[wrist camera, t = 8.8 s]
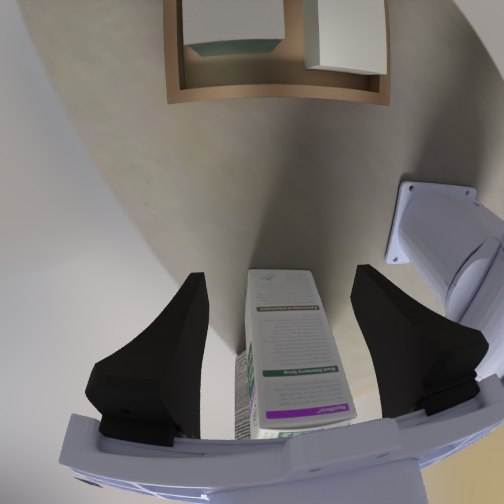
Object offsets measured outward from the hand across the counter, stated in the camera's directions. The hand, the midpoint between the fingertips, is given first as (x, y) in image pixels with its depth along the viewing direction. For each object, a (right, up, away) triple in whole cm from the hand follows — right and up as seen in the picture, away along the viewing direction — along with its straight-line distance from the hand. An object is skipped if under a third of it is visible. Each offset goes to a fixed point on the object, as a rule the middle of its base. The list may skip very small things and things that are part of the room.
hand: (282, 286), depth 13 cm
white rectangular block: (+4, +17, +1) cm, 17 cm away
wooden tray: (0, +17, +1) cm, 17 cm away
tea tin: (-2, +16, +1) cm, 16 cm away
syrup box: (+1, -2, +13) cm, 14 cm away
